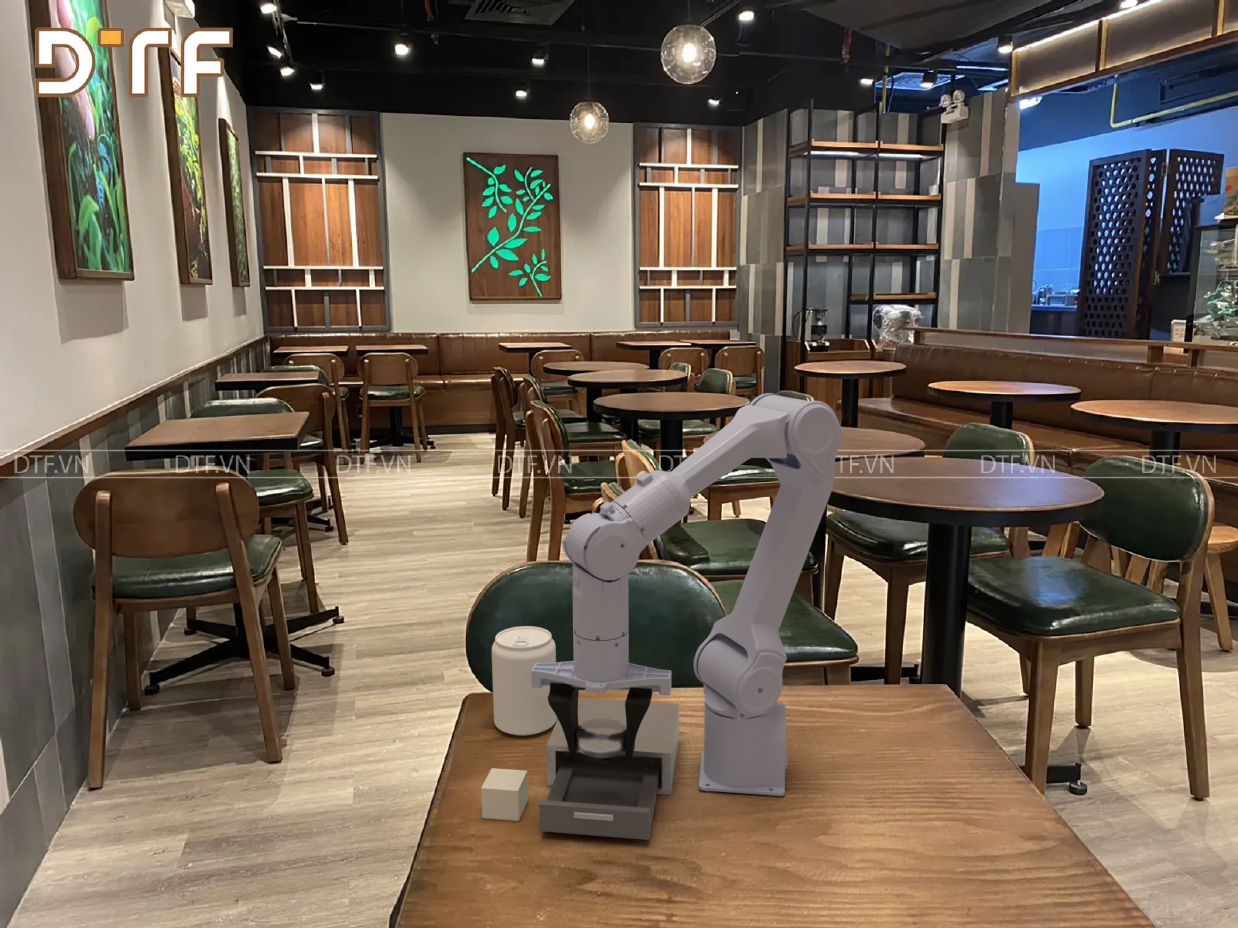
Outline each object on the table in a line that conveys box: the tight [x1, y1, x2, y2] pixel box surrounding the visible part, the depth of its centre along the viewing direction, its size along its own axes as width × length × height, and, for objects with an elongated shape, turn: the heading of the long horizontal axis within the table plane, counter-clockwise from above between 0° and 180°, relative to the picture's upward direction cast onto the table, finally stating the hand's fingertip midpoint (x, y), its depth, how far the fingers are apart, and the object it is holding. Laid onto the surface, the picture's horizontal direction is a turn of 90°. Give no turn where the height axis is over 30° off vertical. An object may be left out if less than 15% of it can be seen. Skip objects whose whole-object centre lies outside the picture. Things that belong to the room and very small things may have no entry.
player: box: [545, 697, 680, 796], centre depth 103 cm, size 14×12×5 cm
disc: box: [576, 719, 627, 758], centre depth 92 cm, size 5×5×2 cm
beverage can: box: [491, 625, 558, 736], centre depth 112 cm, size 8×8×12 cm
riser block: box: [480, 767, 529, 822], centre depth 94 cm, size 4×4×4 cm
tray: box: [538, 761, 660, 841], centre depth 93 cm, size 11×11×3 cm
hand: (601, 751), depth 93 cm, fingers closed on disc, 5 cm apart
